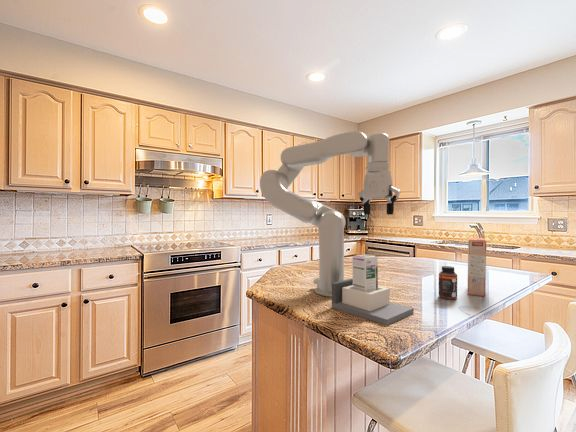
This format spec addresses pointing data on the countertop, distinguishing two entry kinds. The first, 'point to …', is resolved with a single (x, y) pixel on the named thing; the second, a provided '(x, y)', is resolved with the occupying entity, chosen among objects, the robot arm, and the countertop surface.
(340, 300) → the slide base
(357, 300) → the socket block
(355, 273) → the syrup box
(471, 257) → the cracker box
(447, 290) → the supplement bottle
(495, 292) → the countertop surface
